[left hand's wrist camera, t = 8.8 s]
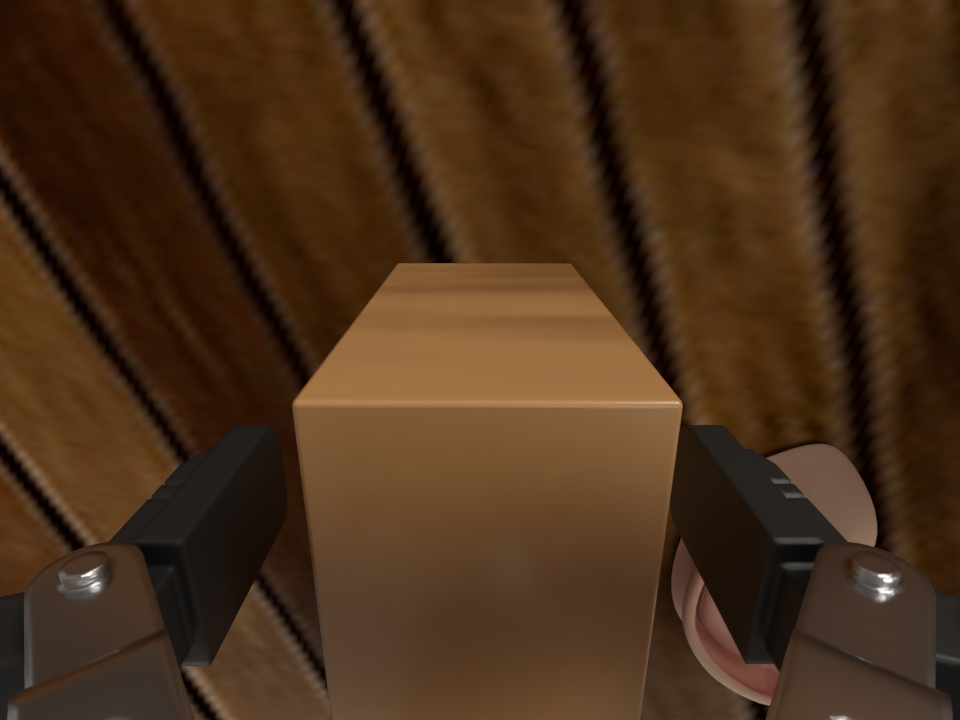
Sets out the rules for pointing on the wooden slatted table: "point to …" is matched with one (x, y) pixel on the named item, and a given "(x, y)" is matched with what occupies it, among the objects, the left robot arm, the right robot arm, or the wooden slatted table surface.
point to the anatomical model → (820, 481)
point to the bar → (486, 499)
